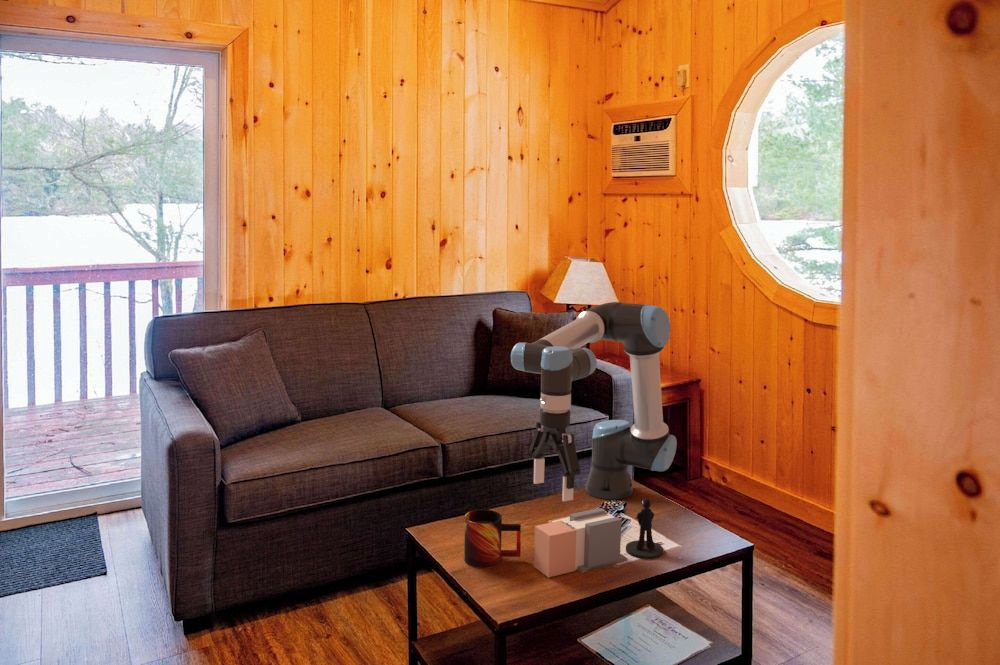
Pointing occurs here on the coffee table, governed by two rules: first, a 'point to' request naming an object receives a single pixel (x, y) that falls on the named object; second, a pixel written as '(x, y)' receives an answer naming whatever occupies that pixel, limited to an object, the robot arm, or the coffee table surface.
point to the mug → (487, 539)
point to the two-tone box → (596, 539)
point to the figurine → (646, 547)
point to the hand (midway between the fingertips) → (552, 491)
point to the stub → (554, 548)
